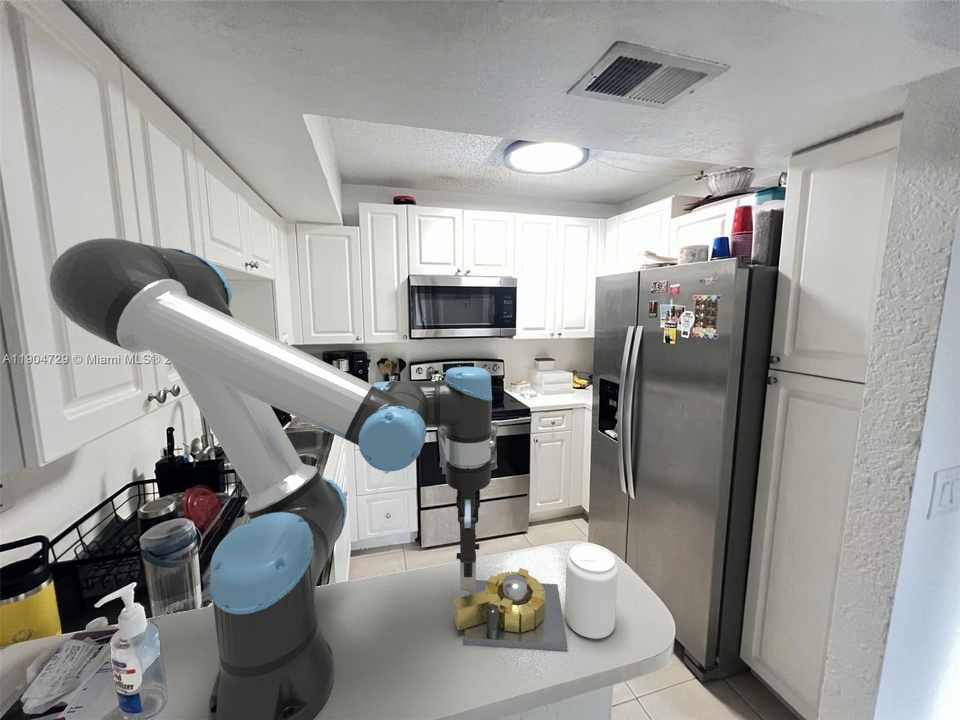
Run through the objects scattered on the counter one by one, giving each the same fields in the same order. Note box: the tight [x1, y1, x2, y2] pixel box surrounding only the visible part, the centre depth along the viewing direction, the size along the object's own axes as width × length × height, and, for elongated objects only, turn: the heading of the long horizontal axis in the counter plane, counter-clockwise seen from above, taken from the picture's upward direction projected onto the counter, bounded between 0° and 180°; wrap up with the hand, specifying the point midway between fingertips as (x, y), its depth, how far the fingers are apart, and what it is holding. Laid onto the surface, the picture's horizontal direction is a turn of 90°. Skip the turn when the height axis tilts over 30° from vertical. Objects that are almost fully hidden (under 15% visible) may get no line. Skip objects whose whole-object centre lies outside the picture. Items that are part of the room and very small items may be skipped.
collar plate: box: [463, 573, 568, 652], centre depth 67 cm, size 16×13×6 cm
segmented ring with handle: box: [453, 567, 545, 632], centre depth 66 cm, size 16×10×4 cm, turn 110°
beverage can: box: [564, 542, 619, 640], centre depth 65 cm, size 8×8×12 cm
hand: (468, 587), depth 69 cm, fingers closed
